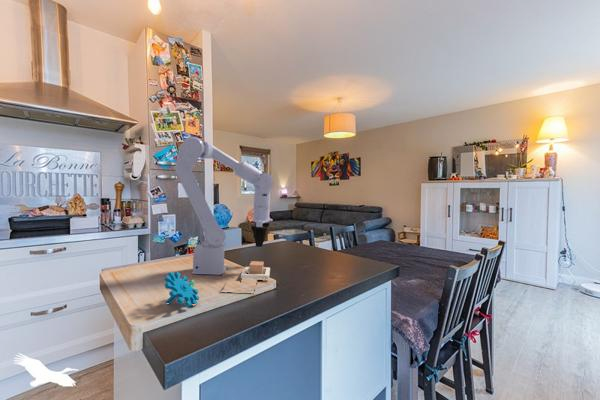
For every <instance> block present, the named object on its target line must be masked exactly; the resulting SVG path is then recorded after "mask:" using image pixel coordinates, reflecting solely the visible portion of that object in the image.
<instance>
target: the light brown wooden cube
mask: <svg viewBox="0 0 600 400" xmlns="http://www.w3.org/2000/svg"><path fill="white" fill-rule="evenodd" d="M264 262H265V261H257V260H255V261H254V260H251V262H249V263H250V264H249V267H250V268H249V273H248V274H263V267H264Z"/></svg>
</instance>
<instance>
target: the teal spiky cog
mask: <svg viewBox="0 0 600 400" xmlns="http://www.w3.org/2000/svg"><path fill="white" fill-rule="evenodd" d="M180 276H181V273H180V272H178V271H176V272H175V273H174V271H170V272H168V273H167V275H166V276H165V277H164V279H163V280H164V281H165V282H166V283H165V284H164V288H165V289H167V290H170V291H169V292H168V294H169V296H170V297H168V299H166V300H165V304H166V303H170V302H171V303H172V302H173V301H174V300H175V299H176V303H177V304H178V305H182V304H183V303H184V301H185V303H184V306H185V307H186V308H188V307H189V308H190V307H192V304H196V303H198V301H199V300H200V299H199V298H200V296H199V295H198V294H199V290H198V289H197V288H194V287H195V284H194V283H195V280H193V279H191V280H190V281H189V282H187V281H188V277H187V276H186V275H183V276H182V277H181V278H180ZM196 300H198V301H196ZM171 303H170V304H171ZM196 305H197V304H196Z"/></svg>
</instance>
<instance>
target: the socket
mask: <svg viewBox="0 0 600 400" xmlns="http://www.w3.org/2000/svg"><path fill="white" fill-rule="evenodd" d="M249 268H250V266H245V267H244V269H243V270H242V273H241V274H240V279H241V278H254V279H255V278H262V279H264V278H265V279H268V278H269V279H270V273H271V267H268V266H267V267H266V266H263V274H249V273H248V272H249ZM247 273H248V274H247Z"/></svg>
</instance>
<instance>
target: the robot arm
mask: <svg viewBox="0 0 600 400" xmlns="http://www.w3.org/2000/svg"><path fill="white" fill-rule="evenodd" d="M201 156H202V159H204V160H205V159H212V160H214V161H215V162H218V163H220V164H222V165H223V166H226V167H228V168H230V169H231V170H233V171H234V174H235V176H237V177H238V178H241V179H242V180H243V181H245V182H248V183H250V184H251V185H253V187H254V194H253V195H254V196H253V213H252V214H253V217H252V221H253V222H254V225H251V227H250V228H251V230H252V232H253V236H254V243H255V247H256V248H257V247H259V248H262V247H263V245H264V243H265V240H266V234H267V233H268V232H267V231H268V229H269V226H270V224H271V223H270V222H273V220H274V219H272V218H270V213H271V211H270V209H271V188H272V187H273V185H274V180H273V177H272V176H271V174H269V173H268V172H263V169H261V168H257V166H256V167H255V166H254V165H252V164H251V161H248V160H247V161H245V160H242V161H241V160H240V161H238V160H236V159H235V158H234V157H232V156H230V155H229V154H227V153H226V152H224V151H222V150H220V149H219V148H218V147H216V146H215V145H212V144H211V143H209V142H208V141H205V140H201V139H200V138H198V137H197V136H188V137H187V138H185V139H184V140H183V142H182V143H181V145H180V146H179V148H178V152H177V158H176V162H175V168H174V171H175V173H176V176H177V178H178V179H179V181H180V183H181V186H182V188H183V190H184V192H185V193H186V196H187V198H188V200H189V202H190V204H191V206H192V208H193V210H194V212H195V214H196V216H197V218H198V221H199V223H200V225H201V227H202V235H203V238H204V240H203V241H202V243H201V244H200V243H199V244H198V243H197V244H196V245H195V246H194V249H193V254H192V256H193V257H192V272H191V274H193V275H214V276H215V275H218V276H219V275H220V276H221V274H222V273H223V274H224V272H225V271H227V268H228V266H226V265H225V249H226V248H225V245H226V244H225V240H226V237H227V235H226V231H225V230H224V229H223V228H222V227H221V225H219V224H218V223H217V220H216V218H215V217H214V214H213V212H212V210H211V208H210V207H209V204H208V201H207V200H206V198H205V195H204V194H203V191H202V190H201V187H200V185H199V183H198V181H197V178H196V177H195V174H194V172H193V169H194V167H195V165H196V161H197V160H199V158H200V157H201ZM223 274H222V275H223Z"/></svg>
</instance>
